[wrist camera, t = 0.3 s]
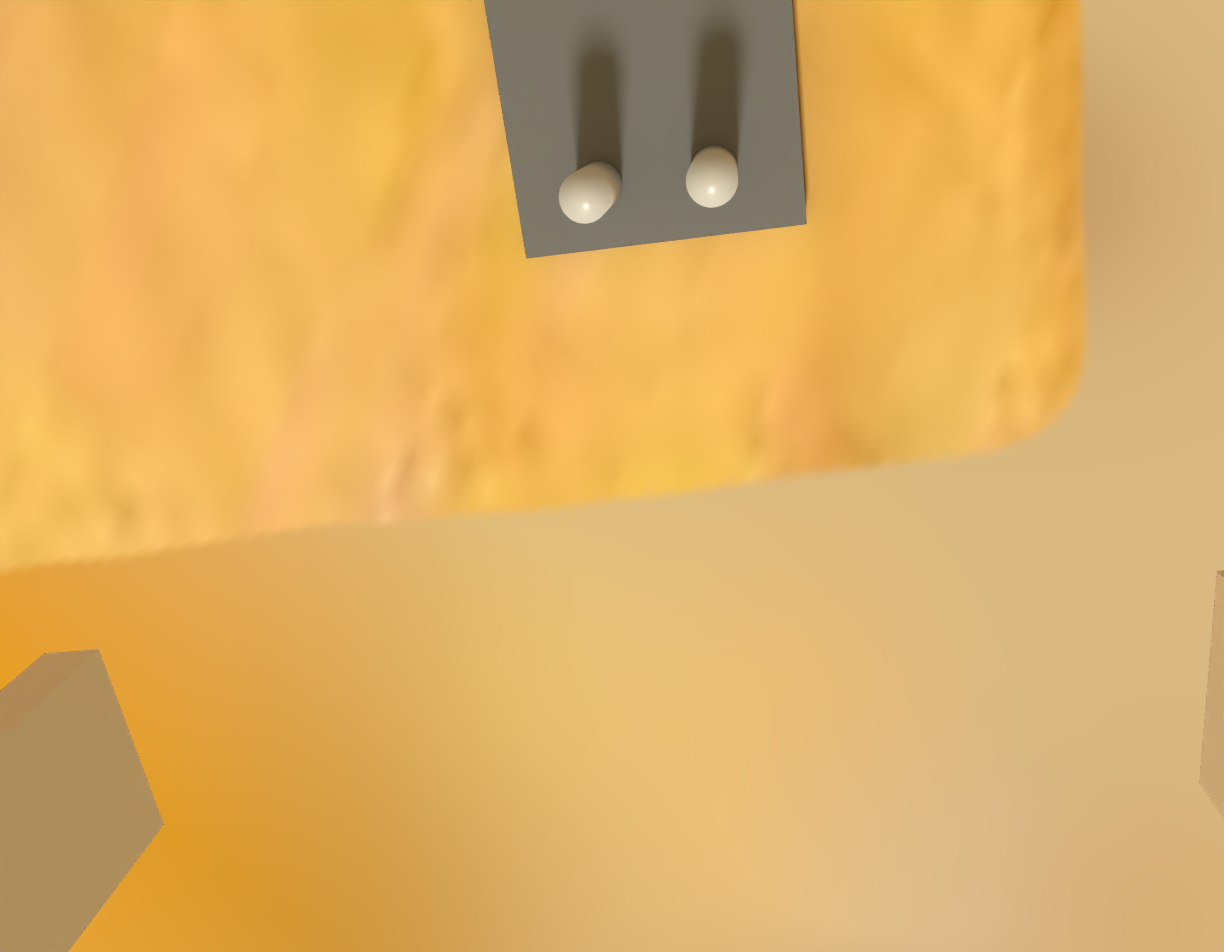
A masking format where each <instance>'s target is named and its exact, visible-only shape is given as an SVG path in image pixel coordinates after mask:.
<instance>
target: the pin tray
mask: <svg viewBox="0 0 1224 952" xmlns="http://www.w3.org/2000/svg"><path fill="white" fill-rule="evenodd" d="M484 4H485V10H486V16H487V22H488V28H489V34H490V40H491V46H492V52H493V58H494V65H495V71H496V77H497V83H498V89H499V95H500V101H501V107H502V113H503V119H504V126H505V132H506V138H507V144H508V150H509V156H510V162H511V168H512V174H513V180H514V186H515V193H516V199H517V205H518V211H519V217H520V223H521V229H522V235H523V241H524V247H525V254H526V258H534V257H542V256H551V255H559V254H567V253H575V252H583V251H591V250H600V249H608V248H616V247H624V246H632V245H640V244H649V243H657V242H665V241H673V240H681V239H689V238H698V237H706V236H714V235H722V234H730V233H738V232H747V231H755V230H763V229H771V228H779V227H787V226H796V225H804V224H807V221H806V206H805V190H804V175H803V160H802V145H801V130H800V115H799V100H798V84H797V69H796V54H795V39H794V24H793V9H792V0H484Z"/></svg>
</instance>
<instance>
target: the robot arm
mask: <svg viewBox="0 0 1224 952" xmlns="http://www.w3.org/2000/svg"><path fill="white" fill-rule="evenodd" d="M1199 783H1200V784H1201V786H1202V787H1203V789H1204V790H1205V792H1206V793H1207V795H1208V796H1209V798H1210V799H1211V801H1212V803H1213V804H1214V805H1215V807H1216V808H1217V810H1218V812H1219V813H1220V815H1221V816H1222V818H1223V819H1224V571H1217V576H1216V589H1215V600H1214V611H1213V623H1212V636H1211V647H1210V659H1209V672H1208V682H1207V694H1206V707H1205V718H1204V730H1203V742H1202V753H1201V766H1200V777H1199ZM163 825H164V824H163V821H162V818H161V816H160V813H159V810H158V808H157V805H156V802H155V800H154V797H153V794H152V791H151V789H150V786H149V783H148V781H147V778H146V775H145V772H144V770H143V767H142V765H141V762H140V759H139V756H138V754H137V751H136V749H135V746H134V743H133V740H132V737H131V735H130V732H129V730H128V727H127V724H126V721H125V719H124V716H123V714H122V711H121V708H120V705H119V703H118V700H117V697H116V694H115V692H114V689H113V686H112V684H111V681H110V678H109V676H108V673H107V670H106V668H105V665H104V662H103V660H102V657H101V654H100V651H99V650H85V651H70V652H58V653H44V654H43V655H42V656H41V657H39V658H38V659H37V660H36V661H35V662H33V663H32V664H31V665H30V666H29V667H28V668H26V669H25V670H24V671H23V672H22V673H21V674H19V675H18V676H17V677H16V678H15V679H13V680H12V681H11V682H10V683H9V684H8V685H6V686H5V687H4V688H3V689H2V690H0V952H68V951H69V950H70V949H71V947H72V946H73V944H74V943H75V942H76V940H77V939H78V938H79V936H80V935H81V934H82V933H83V931H84V930H85V929H86V927H87V926H88V925H89V923H90V922H91V921H92V919H93V918H94V917H95V915H96V914H97V913H98V911H99V910H100V909H101V907H102V906H103V904H104V903H105V902H106V901H107V899H108V898H109V896H110V895H111V894H112V893H113V891H114V890H115V889H116V887H117V886H118V885H119V883H120V882H121V881H122V879H123V878H124V877H125V875H126V874H127V873H128V871H129V870H130V869H131V867H132V866H133V865H134V863H135V862H136V860H137V859H138V858H139V857H140V855H141V854H142V853H143V851H144V850H145V848H146V847H147V846H148V845H149V843H150V842H151V841H152V839H153V838H154V837H155V835H156V834H157V833H158V831H159V830H160V829H161V827H162V826H163Z"/></svg>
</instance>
